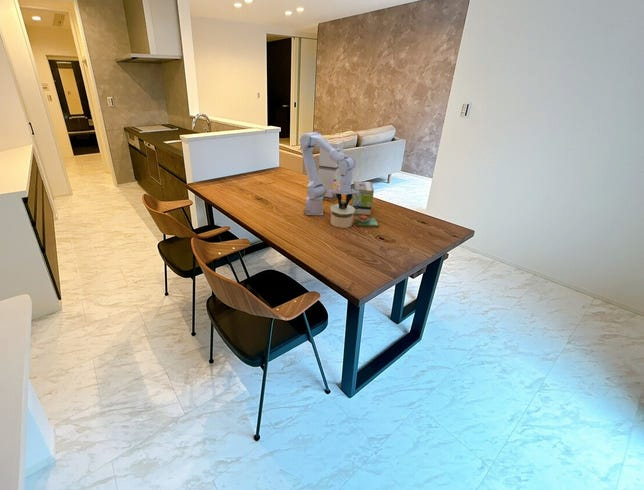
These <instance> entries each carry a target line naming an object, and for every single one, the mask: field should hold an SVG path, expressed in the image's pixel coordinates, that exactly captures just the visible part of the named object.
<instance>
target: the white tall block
mask: <svg viewBox="0 0 644 490" xmlns="http://www.w3.org/2000/svg"><path fill="white" fill-rule="evenodd" d="M324 140H325V141H326V142H328V143H329V144H330V145H331V146H332V147H333V148H334V149H335V148H337V149H340V150H341V152H342V153H343V154H344V143H345V140H344V139H341V140H340V141H338V142H329V138H325V139H324ZM318 158H319V159H318V177H319V180H320V181H322V182H323V185H324V186H325V188H326V194H325V195H324V197H323V200H325V201H331V202H334V201H335V200H336V199H337V196H336V194H332V195H330V194H329V190H334V182H337V179H338V172H340V169H339V167H338V164H336V163H335V162H334V161H333V160H332V159H331V158H330V157H329V154H328V153H327V152H326V151H324V150H323V149H322V148H320V147H319V156H318Z"/></svg>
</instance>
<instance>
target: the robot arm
mask: <svg viewBox="0 0 644 490" xmlns="http://www.w3.org/2000/svg"><path fill="white" fill-rule="evenodd" d="M325 140H326V139H325V138H323V135H322V134H321V133H320V132H318V131H313V132H306V133H303V134H301V136H300V138H299V144H300V152H301V155H302V159H303V163H304V167H305V171H306V175H307V179H308V183H307V186H306V195H307V197H305V207H304V210H305V215H306V216H324V211H323V205H324V203H323V201H324V199H323V197H324V195H325V194H326V188H325V186H324V185H323V182H322V181H320V180H319V177H318V175H319V172H318V170H317V166H316V161H315V158H314V153H313V150H314V149H315V147H316V146H317V147H318V148H319V149H320V148H322V149H323V150H324V151H326V152H327V153H328V154H329V157H330V158H331V159H332V160H333V161H334V162H335V163H336V164H338V167H339V169H340V170H339V182H338V188H336V189H335V188H334V189H333V190H329V194H330V195H332V194H336V196H337V198H336V199H337V202H338V204H339V208H341V202H342V198H343V197H342V196H345V201H344V202H346V204H345V208H347V206H348V205H349V204H350V202H351V201H352V196H353V195H359V190H353V189H351V188H352V179H353V169H354V168H355V167H356V165H357V164H356V160H355V158H354V157H352V156H348V155H347V154H345V153H344V152H343V153H342V152H341V150H340V149H337V148H335V149H334V148H333V147H332V146H331V145H330V144H329V143H330V142H329V141H328V142H326V141H325Z"/></svg>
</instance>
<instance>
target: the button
mask: <svg viewBox="0 0 644 490" xmlns="http://www.w3.org/2000/svg"><path fill="white" fill-rule="evenodd" d="M359 216H360V219H361V220H366V219H367V217H368V215H361V214H360V215H359Z"/></svg>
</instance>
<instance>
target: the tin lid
mask: <svg viewBox="0 0 644 490" xmlns="http://www.w3.org/2000/svg"><path fill="white" fill-rule="evenodd" d="M345 204H346V202H345V201H341V208H339V203H335V204H332V205H330V208H329V209H330V212H331V211H332V212H334V213H337V214H343V215H347V214H352V213H354V212H355V208H354V207H353V206H352V205H350V204H348V206H347V208H345Z"/></svg>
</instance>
